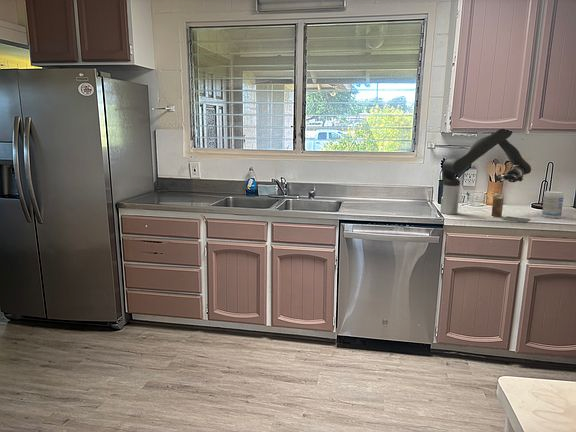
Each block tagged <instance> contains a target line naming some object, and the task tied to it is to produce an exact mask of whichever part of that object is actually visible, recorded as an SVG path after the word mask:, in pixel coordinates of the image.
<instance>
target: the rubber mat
mask: <svg viewBox="0 0 576 432" xmlns="http://www.w3.org/2000/svg"><path fill="white" fill-rule="evenodd" d="M501 220H502V221H508V222H509V221H511V222H516V223H518V222H519V223H528V222H529V221H530V220H531V218H528V217H527V218H525V217H518V216H509V215H507V216H505V217H503V218H502V219H501Z"/></svg>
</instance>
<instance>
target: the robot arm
mask: <svg viewBox="0 0 576 432" xmlns="http://www.w3.org/2000/svg"><path fill="white" fill-rule="evenodd" d="M512 135H513V132H512V131H509V130H505V129H499V130H497V131H496V132H491V131H490V134H489V135H486V136H484V137H481V138H479V139H477V140H476V141H474V142H473V143H472V144H470V145H469V147H468V148H467V151H466V153H465V154H464V155H462V156H461V157H459V158H458V157H457V158H453V157H451V158H449V157H448V158H446V159H445V160H444V162H443V164H442V182H443V185H442V187H443V189H442V197H440V198H441V199H440V211H439V212H440V213H442V214H446V215H457V214H458V212H459V211H458V210H459V201H460V189H461V187H460V185H461V181H460V180H459V179H458V178H457V177H456V175H459V174H461V173H463V172H464V171H465V170H466V169H467V168H468V167H469V166H470V165H471V164H473V163H474V162H475V161H477V160H478V159H480V158H481V157H482V156H484V155H485V154H486V153H488V152H489V151H490V150H492V149H493V148H494V147H495V146H499V148H501V149H502V151H503V152H504V153H505V155H506V157H507V159H508V160H509V162H510V164H511V165H513V167H512V168H511V169H509V170H508V171H507V172H506V173H505V174H501V173H500V174H497V175H496V176H495V181H496V182H500V181H502V182H504V181H505V182H506V181H507V182H509V183H516V182H522V181H523V180H524V176H525V175H529V174H530V173H531V172H532V166H531V165H530V164H529V163H528V162H527V161H526V160H525V159H524V158H523V157H522V155H521V153H520V151H519V150H518V148H517V147H515V146H514V145H513V144H511V143H510V141H509V140H508V139H509V138H510V137H511V136H512Z"/></svg>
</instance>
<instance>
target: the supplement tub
mask: <svg viewBox="0 0 576 432" xmlns="http://www.w3.org/2000/svg"><path fill="white" fill-rule="evenodd" d="M564 193H565V192H562V191H554V190H546V191H544V195H543V202H542V211H541V213H542V214H541V216H542V217H544V218H547V219H548V218H549V219H559V218H562V212H563V203H564V197H565V196H564Z"/></svg>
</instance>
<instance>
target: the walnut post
mask: <svg viewBox="0 0 576 432" xmlns="http://www.w3.org/2000/svg"><path fill="white" fill-rule="evenodd" d="M504 196H505V194H502V193H494V194H493V197H492V206H491V216H493V217H492V218H502V216H503V206H504V198H505V197H504Z"/></svg>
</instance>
